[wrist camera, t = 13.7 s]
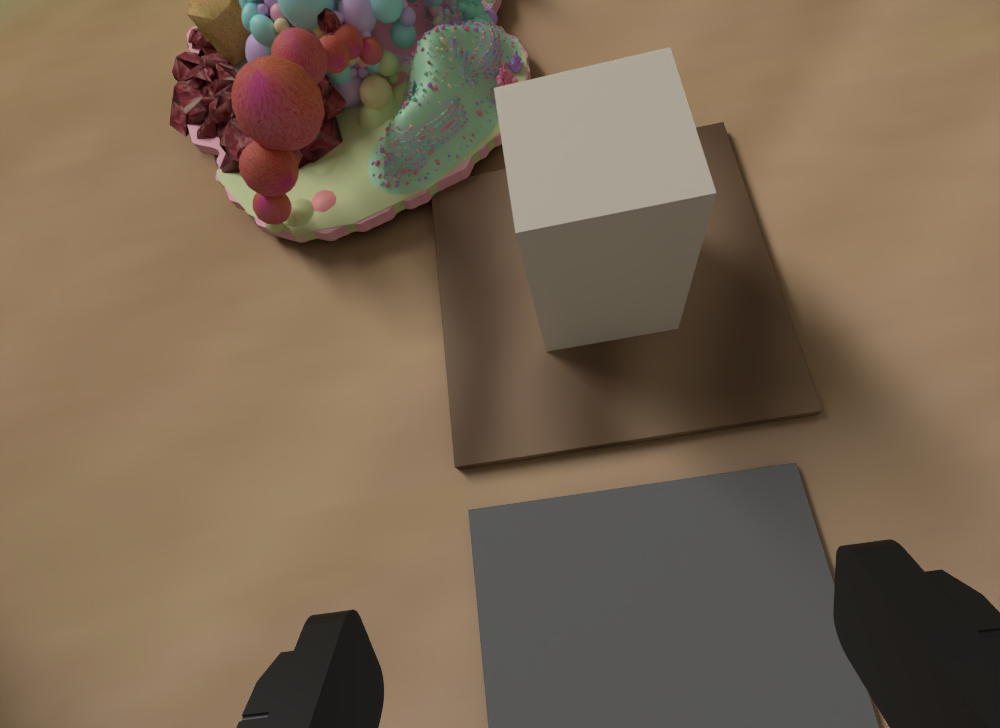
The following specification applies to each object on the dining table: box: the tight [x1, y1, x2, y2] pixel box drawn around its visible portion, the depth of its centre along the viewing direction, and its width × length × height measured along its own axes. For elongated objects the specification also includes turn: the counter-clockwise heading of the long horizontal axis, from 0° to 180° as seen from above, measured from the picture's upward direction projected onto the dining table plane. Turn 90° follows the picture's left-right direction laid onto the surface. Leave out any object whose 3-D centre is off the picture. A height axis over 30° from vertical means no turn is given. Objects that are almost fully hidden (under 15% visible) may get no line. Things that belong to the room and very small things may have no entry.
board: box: [432, 122, 822, 469], centre depth 28 cm, size 16×16×1 cm
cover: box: [494, 47, 716, 352], centre depth 23 cm, size 6×6×10 cm
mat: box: [469, 463, 879, 728], centre depth 22 cm, size 14×14×1 cm
